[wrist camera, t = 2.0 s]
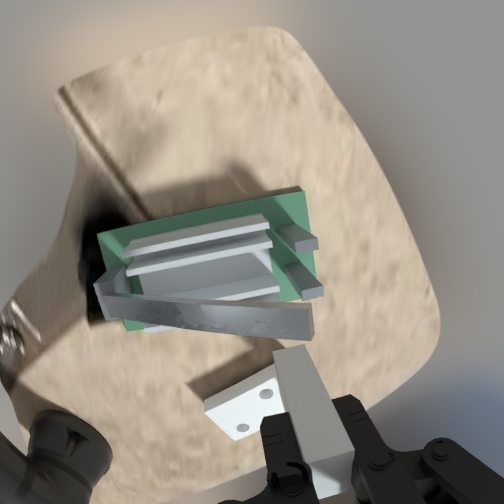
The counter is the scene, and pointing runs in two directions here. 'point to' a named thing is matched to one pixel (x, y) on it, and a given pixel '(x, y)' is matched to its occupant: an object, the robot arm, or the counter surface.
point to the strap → (217, 315)
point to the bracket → (246, 404)
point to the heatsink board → (214, 255)
